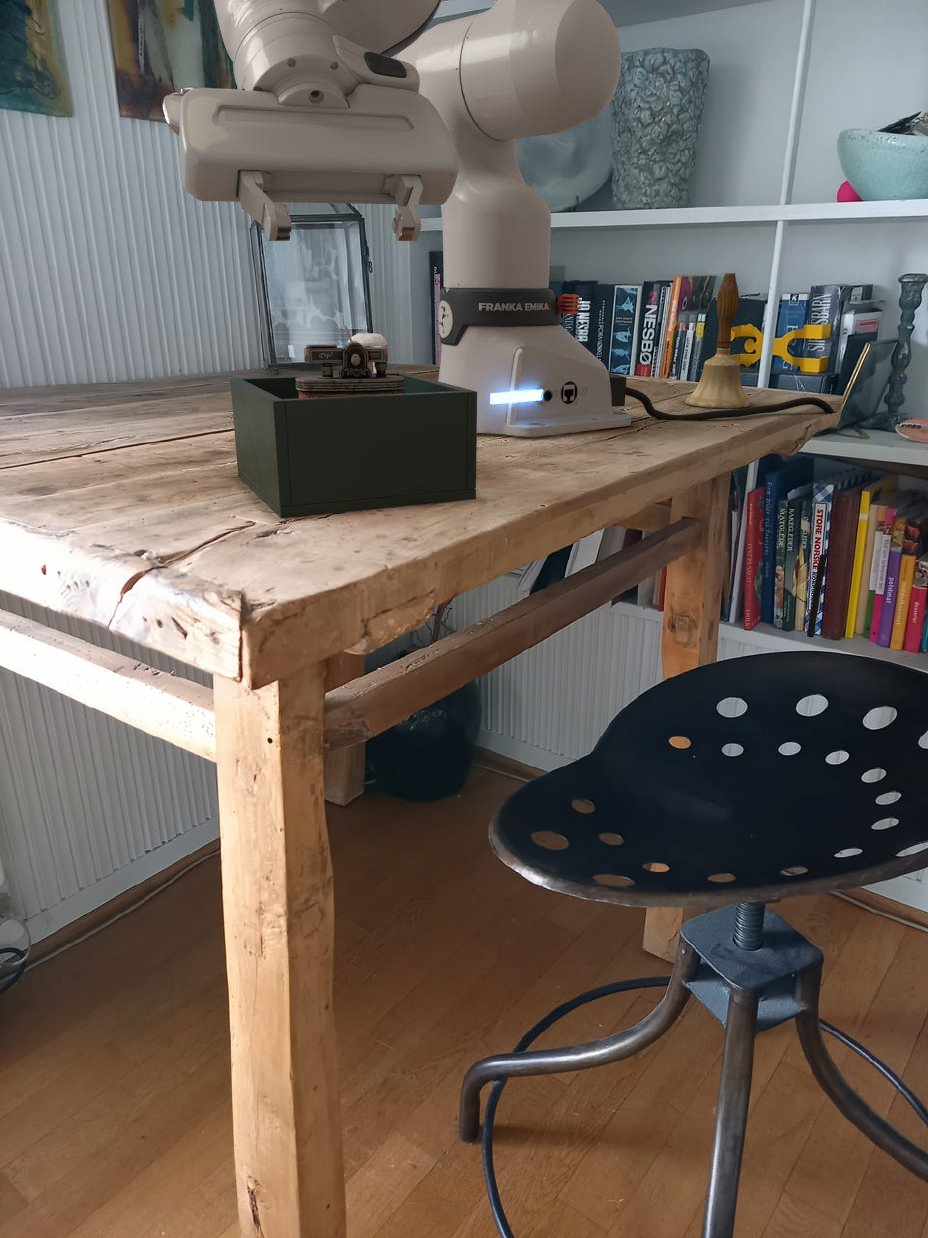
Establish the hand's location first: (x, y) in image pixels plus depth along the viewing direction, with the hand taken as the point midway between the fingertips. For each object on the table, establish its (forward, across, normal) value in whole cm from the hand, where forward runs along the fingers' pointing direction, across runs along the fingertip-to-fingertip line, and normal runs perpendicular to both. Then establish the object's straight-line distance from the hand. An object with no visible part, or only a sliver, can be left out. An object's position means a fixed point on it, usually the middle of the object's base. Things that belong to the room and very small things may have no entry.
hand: (347, 234), depth 63 cm
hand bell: (-7, +58, +35) cm, 68 cm away
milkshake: (-14, +13, +40) cm, 45 cm away
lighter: (+12, 0, +13) cm, 17 cm away
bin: (+12, -1, +13) cm, 18 cm away
